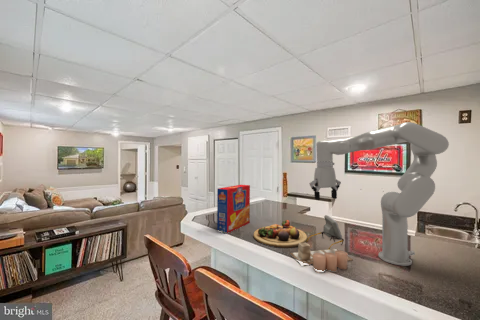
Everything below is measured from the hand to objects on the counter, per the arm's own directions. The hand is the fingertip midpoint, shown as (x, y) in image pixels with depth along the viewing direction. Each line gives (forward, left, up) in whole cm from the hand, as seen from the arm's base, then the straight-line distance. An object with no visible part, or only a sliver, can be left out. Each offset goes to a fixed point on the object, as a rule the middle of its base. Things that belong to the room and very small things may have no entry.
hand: (325, 198), depth 106 cm
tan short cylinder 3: (+2, +14, -27) cm, 31 cm away
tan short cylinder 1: (+13, +14, -27) cm, 33 cm away
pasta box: (+38, -49, -27) cm, 67 cm away
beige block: (+15, +5, -26) cm, 30 cm away
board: (+6, +4, -27) cm, 28 cm away
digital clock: (-20, -22, -27) cm, 40 cm away
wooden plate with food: (+14, -24, -28) cm, 40 cm away
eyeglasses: (-7, -10, -28) cm, 30 cm away
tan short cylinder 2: (+8, +15, -27) cm, 32 cm away
